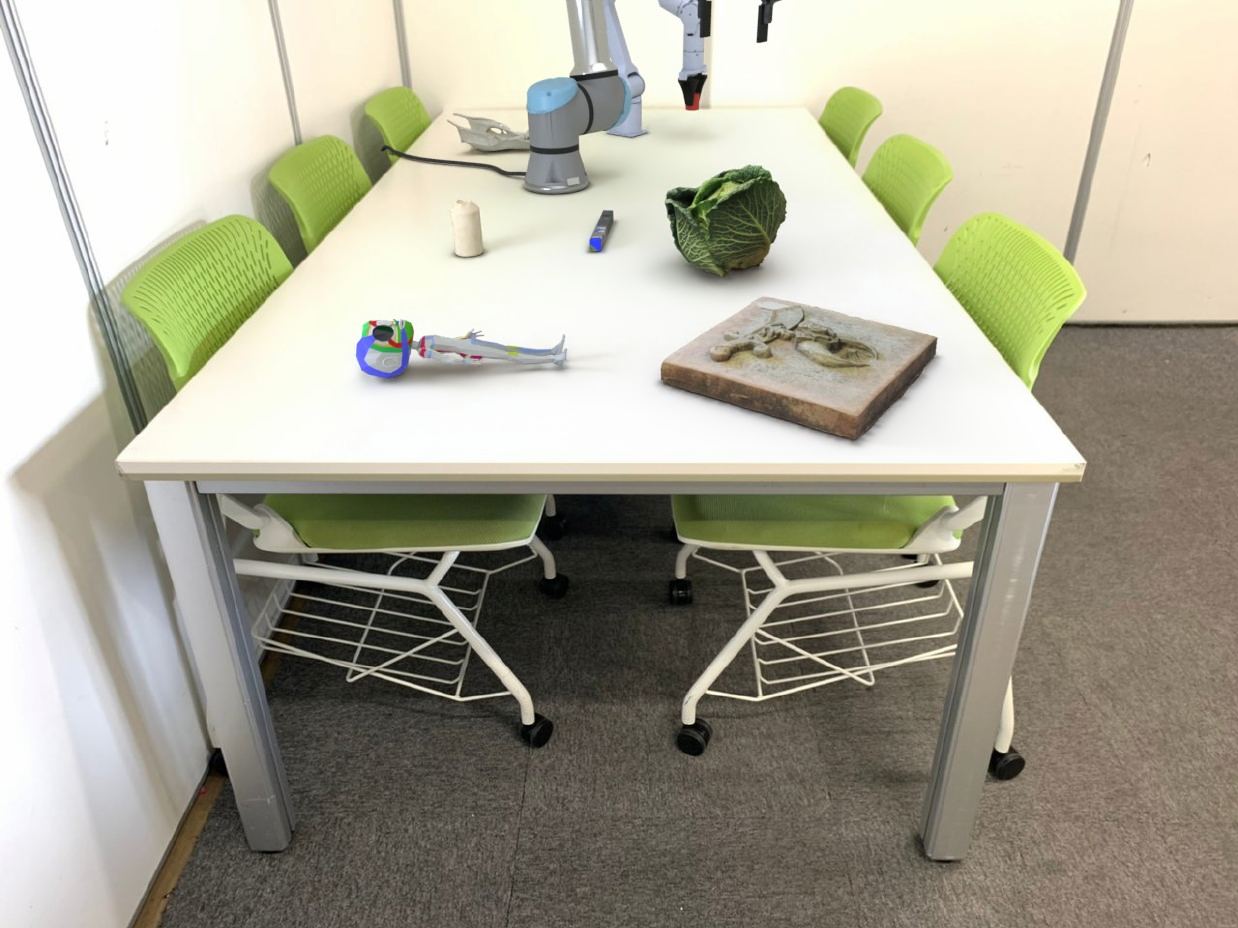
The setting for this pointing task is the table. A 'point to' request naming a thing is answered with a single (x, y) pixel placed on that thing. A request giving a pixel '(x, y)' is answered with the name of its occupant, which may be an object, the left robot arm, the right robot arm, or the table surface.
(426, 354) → the toy
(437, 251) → the table surface
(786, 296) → the table surface
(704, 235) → the vegetable
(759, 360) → the plaque
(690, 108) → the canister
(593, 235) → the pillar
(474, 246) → the candle
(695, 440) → the table surface
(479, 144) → the anatomical model
